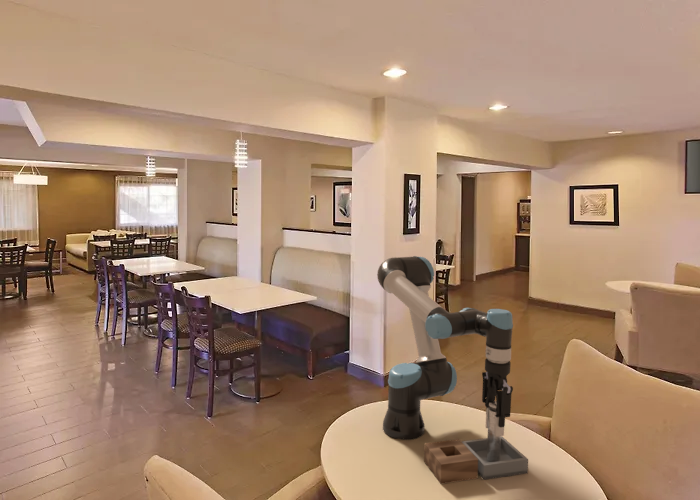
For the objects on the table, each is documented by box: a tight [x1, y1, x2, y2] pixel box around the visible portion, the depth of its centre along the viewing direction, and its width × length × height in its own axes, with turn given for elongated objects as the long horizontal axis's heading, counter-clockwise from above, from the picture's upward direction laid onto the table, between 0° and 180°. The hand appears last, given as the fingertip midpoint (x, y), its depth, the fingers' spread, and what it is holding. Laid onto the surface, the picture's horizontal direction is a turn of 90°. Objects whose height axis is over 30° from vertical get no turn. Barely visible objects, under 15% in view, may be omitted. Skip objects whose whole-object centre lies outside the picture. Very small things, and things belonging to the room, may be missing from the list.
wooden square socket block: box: [423, 438, 479, 485], centre depth 136 cm, size 12×12×6 cm
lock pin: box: [487, 400, 501, 462], centre depth 139 cm, size 4×4×18 cm
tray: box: [460, 436, 529, 480], centre depth 140 cm, size 14×15×4 cm
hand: (494, 431), depth 139 cm, fingers open, 4 cm apart
